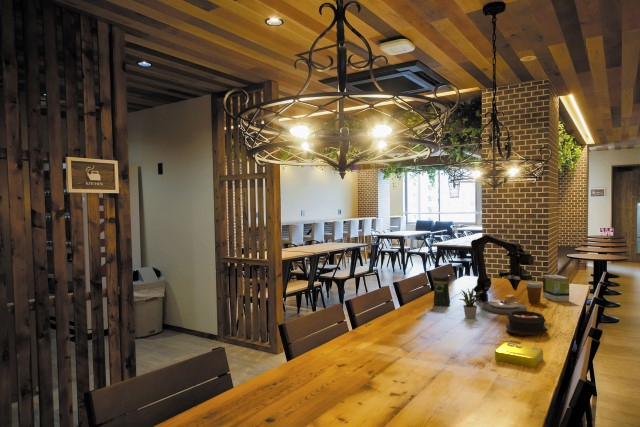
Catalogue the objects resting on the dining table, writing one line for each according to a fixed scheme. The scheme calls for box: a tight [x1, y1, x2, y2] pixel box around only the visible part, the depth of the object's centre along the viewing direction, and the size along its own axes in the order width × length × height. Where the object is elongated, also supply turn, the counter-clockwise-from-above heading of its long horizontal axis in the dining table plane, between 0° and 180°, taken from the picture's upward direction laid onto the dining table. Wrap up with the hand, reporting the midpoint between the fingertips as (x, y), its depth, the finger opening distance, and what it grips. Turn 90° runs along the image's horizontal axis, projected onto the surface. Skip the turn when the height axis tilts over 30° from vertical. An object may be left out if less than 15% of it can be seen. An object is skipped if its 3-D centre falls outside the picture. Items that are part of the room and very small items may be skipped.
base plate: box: [481, 301, 528, 316], centre depth 256 cm, size 24×24×2 cm
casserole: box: [505, 310, 549, 336], centre depth 211 cm, size 25×19×8 cm
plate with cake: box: [489, 294, 520, 309], centre depth 257 cm, size 19×16×5 cm
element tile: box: [494, 341, 544, 369], centre depth 173 cm, size 15×15×5 cm
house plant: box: [458, 288, 483, 319], centre depth 239 cm, size 14×14×16 cm
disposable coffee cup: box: [525, 281, 543, 304], centre depth 274 cm, size 10×10×12 cm
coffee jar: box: [432, 274, 451, 307], centre depth 272 cm, size 10×8×19 cm
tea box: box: [542, 274, 570, 302], centre depth 282 cm, size 15×10×15 cm
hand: (515, 290), depth 261 cm, fingers closed
